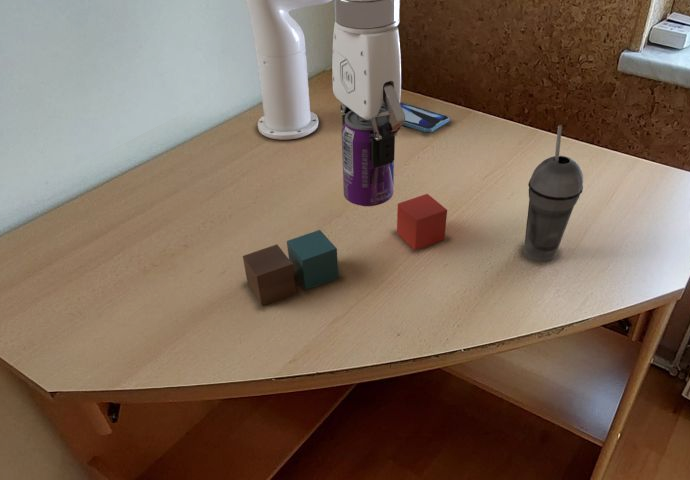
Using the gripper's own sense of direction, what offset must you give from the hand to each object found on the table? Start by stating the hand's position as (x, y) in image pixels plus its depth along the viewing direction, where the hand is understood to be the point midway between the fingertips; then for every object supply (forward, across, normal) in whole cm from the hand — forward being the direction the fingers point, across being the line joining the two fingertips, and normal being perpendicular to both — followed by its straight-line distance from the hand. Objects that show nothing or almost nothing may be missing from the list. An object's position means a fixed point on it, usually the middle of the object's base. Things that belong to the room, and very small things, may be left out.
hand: (368, 151), depth 84 cm
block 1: (+17, 0, -16) cm, 24 cm away
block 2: (+17, 0, -10) cm, 20 cm away
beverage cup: (+18, +13, +22) cm, 31 cm away
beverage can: (+7, 0, 0) cm, 7 cm away
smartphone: (+17, -36, +30) cm, 50 cm away
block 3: (+17, 0, +10) cm, 20 cm away
